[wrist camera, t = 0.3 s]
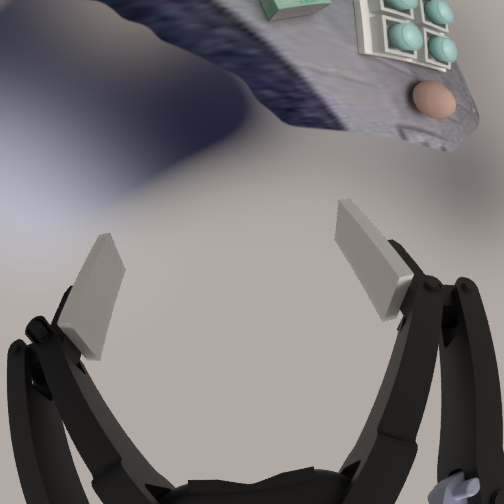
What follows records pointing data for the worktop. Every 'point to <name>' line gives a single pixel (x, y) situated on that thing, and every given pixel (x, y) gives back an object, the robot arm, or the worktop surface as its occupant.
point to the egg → (434, 99)
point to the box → (291, 8)
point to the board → (376, 32)
